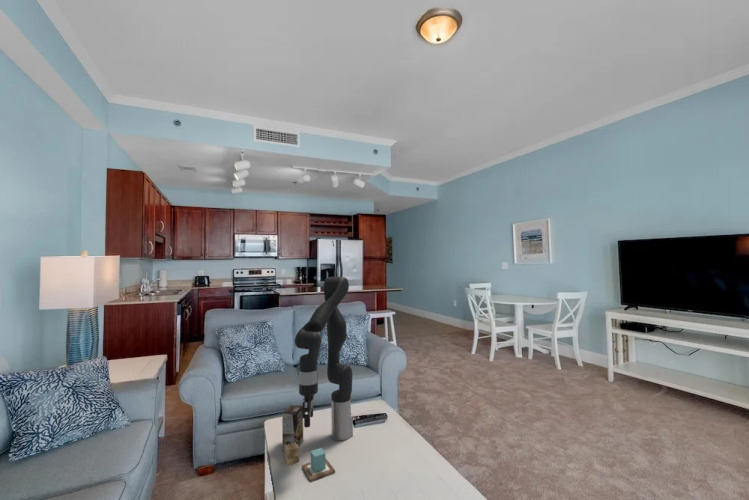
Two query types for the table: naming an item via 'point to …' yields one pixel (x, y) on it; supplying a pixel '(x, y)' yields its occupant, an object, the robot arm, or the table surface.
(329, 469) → the brown framed white board
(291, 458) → the ochre block
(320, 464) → the teal block
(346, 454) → the table surface
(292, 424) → the coffee box
